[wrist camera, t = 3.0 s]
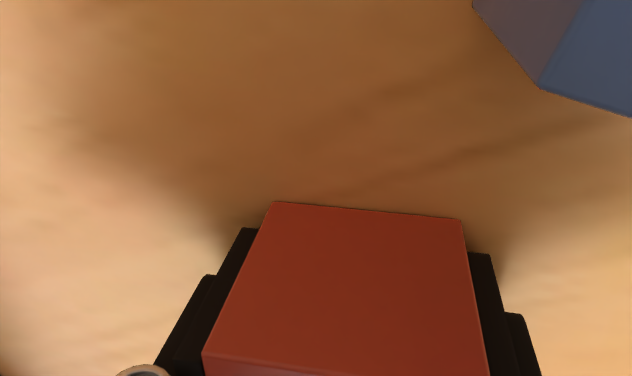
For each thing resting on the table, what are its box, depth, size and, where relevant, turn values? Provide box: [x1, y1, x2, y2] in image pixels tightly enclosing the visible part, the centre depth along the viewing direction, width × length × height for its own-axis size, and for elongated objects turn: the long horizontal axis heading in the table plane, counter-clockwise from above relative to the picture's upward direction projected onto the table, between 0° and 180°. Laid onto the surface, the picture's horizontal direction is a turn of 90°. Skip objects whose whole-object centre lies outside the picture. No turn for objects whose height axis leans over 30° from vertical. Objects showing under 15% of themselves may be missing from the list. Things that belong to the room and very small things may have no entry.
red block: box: [201, 201, 490, 376], centre depth 9 cm, size 4×4×4 cm
